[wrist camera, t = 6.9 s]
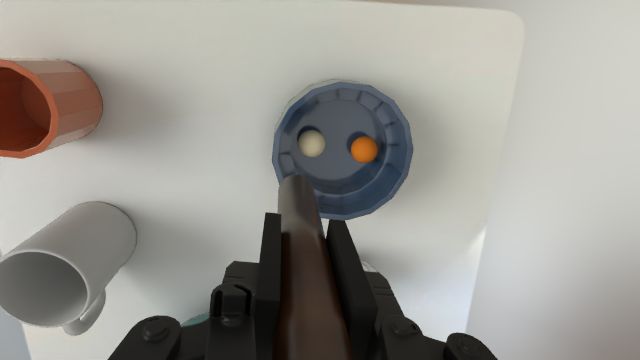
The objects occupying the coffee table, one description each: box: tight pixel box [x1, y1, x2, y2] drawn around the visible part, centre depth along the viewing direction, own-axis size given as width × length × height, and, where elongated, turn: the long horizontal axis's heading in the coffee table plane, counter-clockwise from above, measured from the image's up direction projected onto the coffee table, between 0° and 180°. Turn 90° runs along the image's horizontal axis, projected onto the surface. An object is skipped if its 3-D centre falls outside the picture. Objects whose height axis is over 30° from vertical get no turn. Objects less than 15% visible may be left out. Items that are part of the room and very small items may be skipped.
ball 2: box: [351, 136, 378, 163], centre depth 40 cm, size 3×3×3 cm
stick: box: [271, 175, 354, 360], centre depth 17 cm, size 2×2×18 cm
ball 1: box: [298, 130, 325, 157], centre depth 39 cm, size 3×3×3 cm
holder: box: [0, 57, 103, 158], centre depth 33 cm, size 8×8×8 cm
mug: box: [0, 202, 137, 336], centre depth 38 cm, size 12×8×11 cm
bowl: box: [272, 79, 413, 220], centre depth 39 cm, size 14×14×6 cm
